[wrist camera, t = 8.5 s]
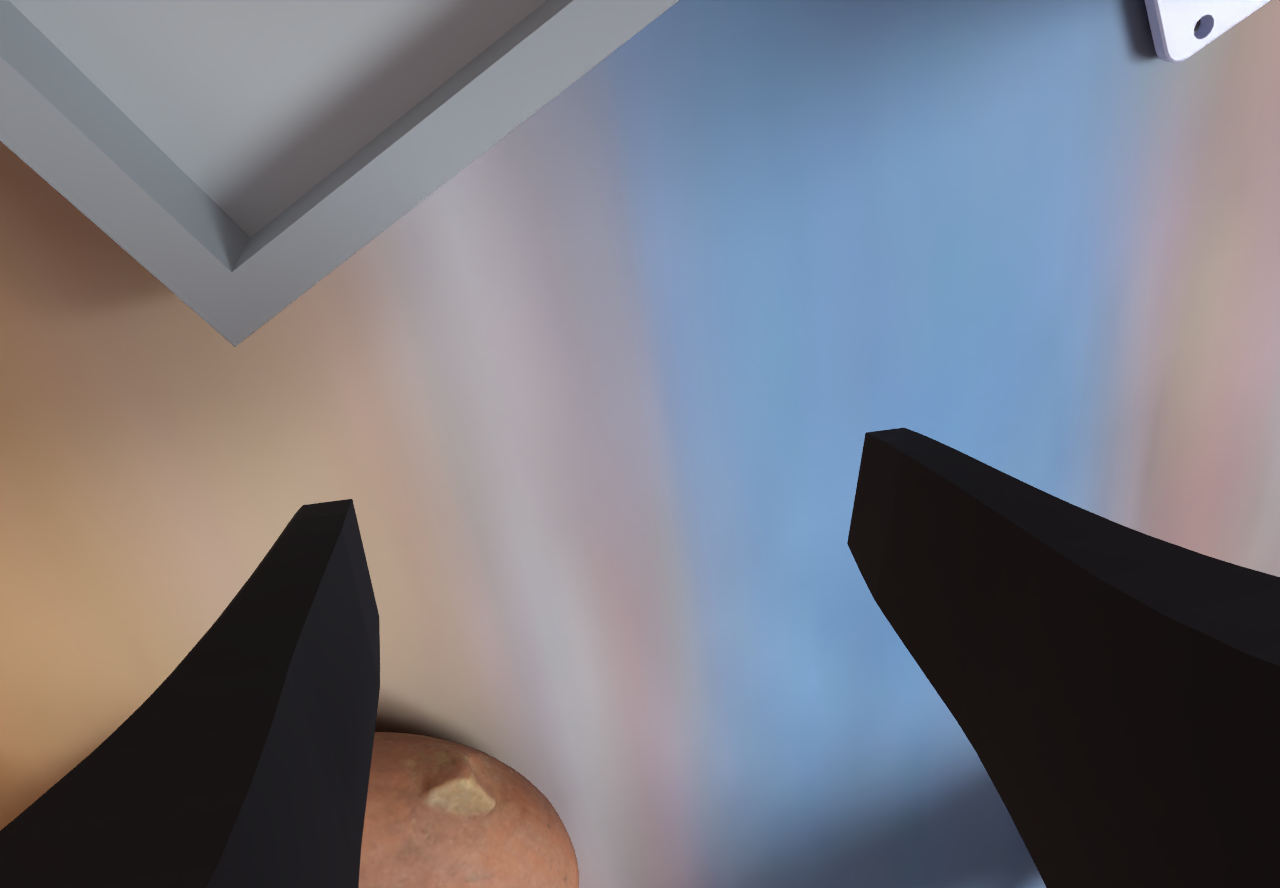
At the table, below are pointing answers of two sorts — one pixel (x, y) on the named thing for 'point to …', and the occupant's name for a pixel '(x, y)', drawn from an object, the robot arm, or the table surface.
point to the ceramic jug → (457, 821)
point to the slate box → (276, 121)
